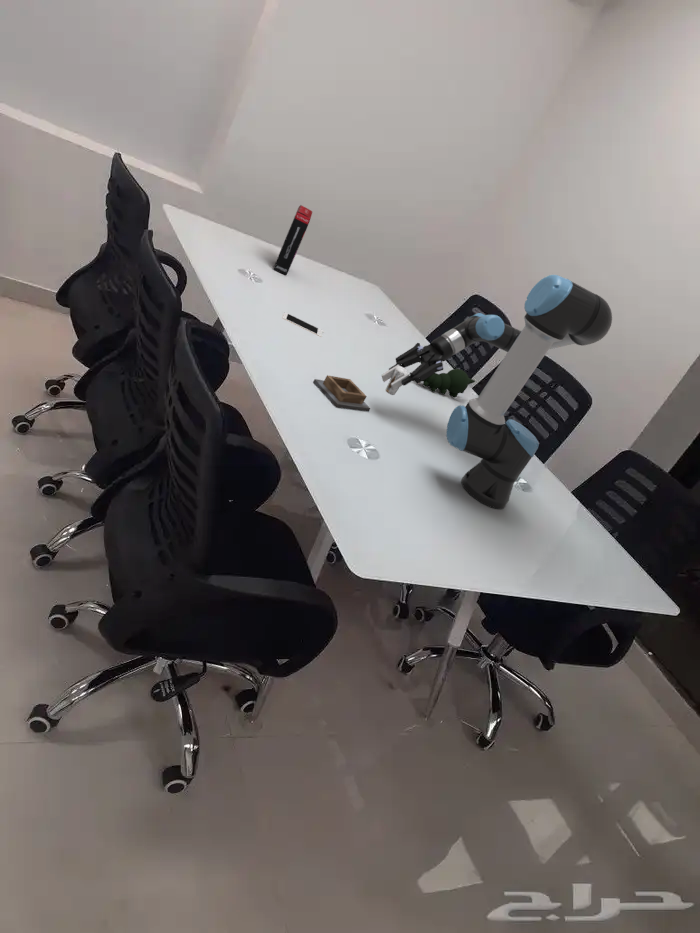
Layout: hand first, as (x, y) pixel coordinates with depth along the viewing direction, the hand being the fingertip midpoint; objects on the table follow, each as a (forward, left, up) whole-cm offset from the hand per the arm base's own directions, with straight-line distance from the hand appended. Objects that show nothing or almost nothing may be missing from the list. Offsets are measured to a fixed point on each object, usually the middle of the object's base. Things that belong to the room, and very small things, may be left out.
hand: (387, 382), depth 225 cm
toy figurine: (+22, -53, -11) cm, 58 cm away
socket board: (+6, +9, -11) cm, 15 cm away
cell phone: (+58, -8, -11) cm, 59 cm away
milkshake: (0, -4, -3) cm, 5 cm away
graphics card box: (+117, -32, -11) cm, 122 cm away
